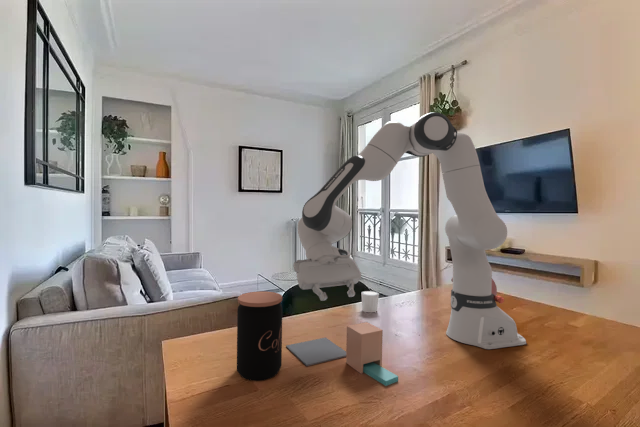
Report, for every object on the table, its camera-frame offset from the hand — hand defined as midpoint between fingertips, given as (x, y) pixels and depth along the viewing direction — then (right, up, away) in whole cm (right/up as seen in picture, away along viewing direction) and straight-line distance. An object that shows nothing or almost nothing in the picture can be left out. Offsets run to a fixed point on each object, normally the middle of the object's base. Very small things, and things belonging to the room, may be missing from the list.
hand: (338, 297), depth 94 cm
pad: (-6, -14, -3) cm, 16 cm away
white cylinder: (+14, -14, +35) cm, 40 cm away
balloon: (+57, -15, +43) cm, 73 cm away
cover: (+6, -14, -11) cm, 19 cm away
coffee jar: (-20, -14, -14) cm, 28 cm away
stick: (+8, -15, -14) cm, 22 cm away
